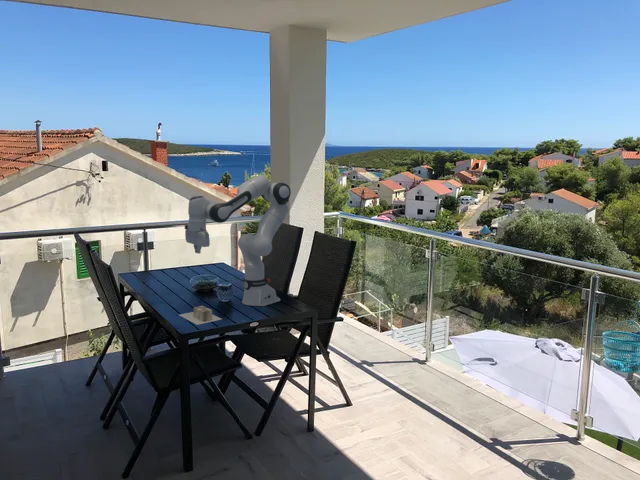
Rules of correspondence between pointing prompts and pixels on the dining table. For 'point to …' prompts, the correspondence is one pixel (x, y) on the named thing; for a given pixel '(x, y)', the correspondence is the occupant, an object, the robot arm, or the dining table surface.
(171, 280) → the dining table surface
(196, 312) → the birch block
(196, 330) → the dining table surface
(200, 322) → the sand mat
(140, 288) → the dining table surface
